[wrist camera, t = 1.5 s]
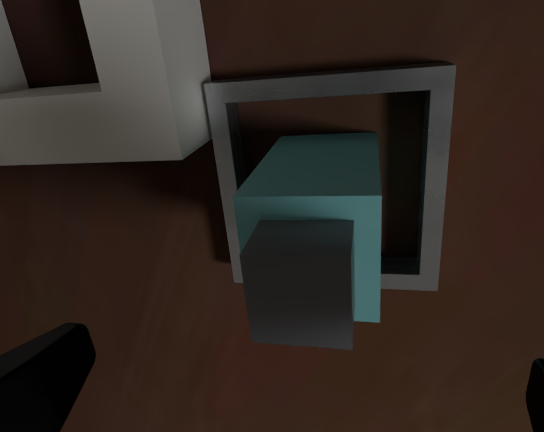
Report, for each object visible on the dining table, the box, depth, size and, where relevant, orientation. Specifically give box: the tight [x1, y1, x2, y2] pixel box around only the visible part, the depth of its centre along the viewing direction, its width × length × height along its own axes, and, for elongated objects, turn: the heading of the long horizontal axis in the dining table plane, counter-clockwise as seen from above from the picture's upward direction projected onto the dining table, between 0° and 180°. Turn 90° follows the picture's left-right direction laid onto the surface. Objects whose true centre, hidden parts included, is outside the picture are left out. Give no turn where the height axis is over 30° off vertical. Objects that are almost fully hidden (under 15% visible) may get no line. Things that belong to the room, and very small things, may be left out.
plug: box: [232, 132, 382, 350], centre depth 14 cm, size 4×4×9 cm
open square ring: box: [204, 61, 456, 291], centre depth 17 cm, size 9×9×2 cm
